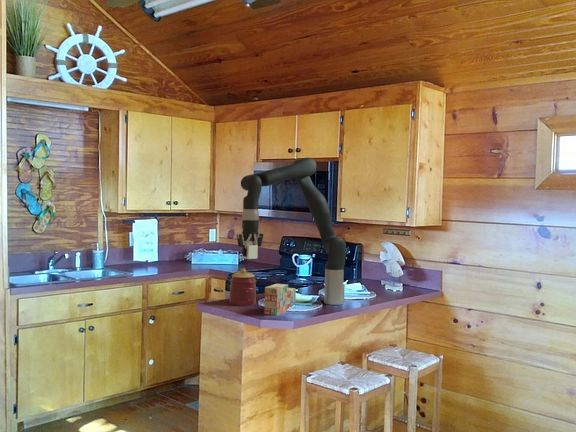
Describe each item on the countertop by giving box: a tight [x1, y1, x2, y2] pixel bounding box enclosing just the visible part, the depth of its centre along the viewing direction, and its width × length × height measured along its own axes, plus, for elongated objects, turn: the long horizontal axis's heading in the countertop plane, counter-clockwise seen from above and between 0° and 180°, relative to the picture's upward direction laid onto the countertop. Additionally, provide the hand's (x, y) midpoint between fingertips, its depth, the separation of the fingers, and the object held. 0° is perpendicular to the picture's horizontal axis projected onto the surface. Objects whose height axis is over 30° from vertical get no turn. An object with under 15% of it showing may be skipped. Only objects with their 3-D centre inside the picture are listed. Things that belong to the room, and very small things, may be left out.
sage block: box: [241, 244, 259, 260], centre depth 253 cm, size 5×5×6 cm
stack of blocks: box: [263, 283, 297, 316], centre depth 255 cm, size 21×6×12 cm, turn 156°
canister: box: [228, 268, 257, 307], centre depth 267 cm, size 13×13×18 cm
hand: (249, 256), depth 253 cm, fingers closed on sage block, 5 cm apart
